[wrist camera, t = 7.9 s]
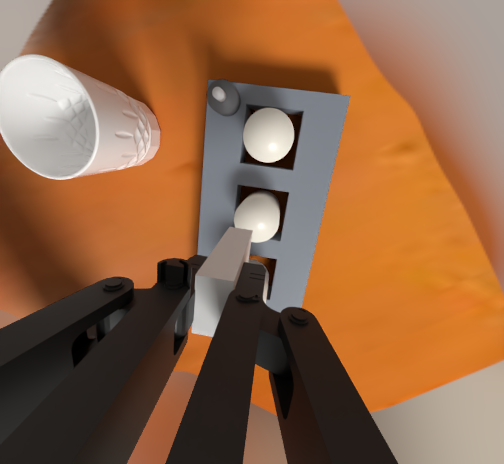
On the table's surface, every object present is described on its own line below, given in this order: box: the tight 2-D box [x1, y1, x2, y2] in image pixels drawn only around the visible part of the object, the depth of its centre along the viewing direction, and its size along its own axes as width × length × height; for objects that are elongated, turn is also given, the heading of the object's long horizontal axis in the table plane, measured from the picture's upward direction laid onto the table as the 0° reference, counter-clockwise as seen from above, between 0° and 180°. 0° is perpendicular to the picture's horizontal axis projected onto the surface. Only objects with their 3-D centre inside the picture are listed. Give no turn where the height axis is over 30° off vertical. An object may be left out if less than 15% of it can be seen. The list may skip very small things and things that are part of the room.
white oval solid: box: [234, 190, 280, 243], centre depth 24 cm, size 4×4×5 cm
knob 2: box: [243, 108, 294, 163], centre depth 21 cm, size 4×4×5 cm
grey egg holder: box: [197, 79, 350, 313], centre depth 24 cm, size 12×22×6 cm, turn 173°
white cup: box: [0, 54, 161, 180], centre depth 21 cm, size 8×8×10 cm
